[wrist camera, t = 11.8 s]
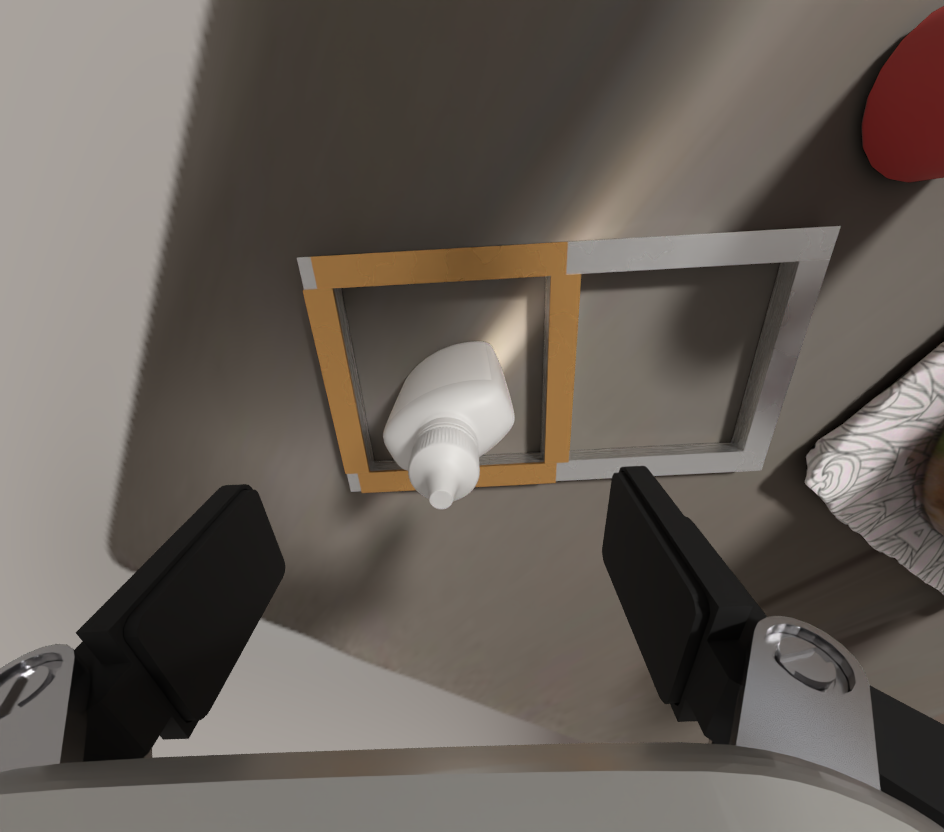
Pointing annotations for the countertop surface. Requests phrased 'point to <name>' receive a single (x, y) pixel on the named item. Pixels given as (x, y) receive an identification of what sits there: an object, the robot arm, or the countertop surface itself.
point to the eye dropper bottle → (449, 420)
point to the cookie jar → (892, 470)
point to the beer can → (909, 107)
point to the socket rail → (574, 344)
